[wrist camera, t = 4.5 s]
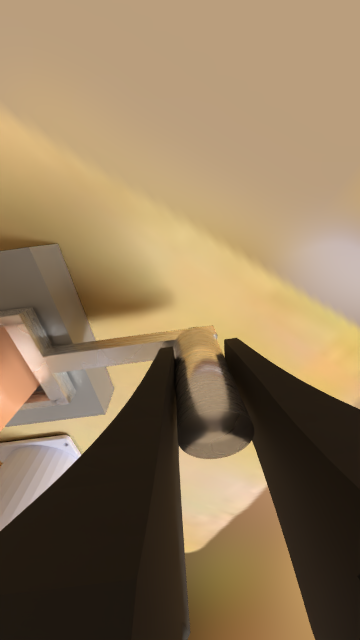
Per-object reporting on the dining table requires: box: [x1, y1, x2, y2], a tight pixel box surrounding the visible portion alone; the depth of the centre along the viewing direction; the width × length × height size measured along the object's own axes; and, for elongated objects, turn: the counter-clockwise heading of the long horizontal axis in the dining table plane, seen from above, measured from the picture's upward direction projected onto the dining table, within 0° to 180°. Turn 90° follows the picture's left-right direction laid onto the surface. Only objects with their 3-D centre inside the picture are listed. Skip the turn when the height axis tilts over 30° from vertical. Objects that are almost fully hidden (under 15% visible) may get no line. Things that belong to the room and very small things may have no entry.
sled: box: [0, 307, 254, 459], centre depth 8 cm, size 18×6×6 cm, turn 97°
